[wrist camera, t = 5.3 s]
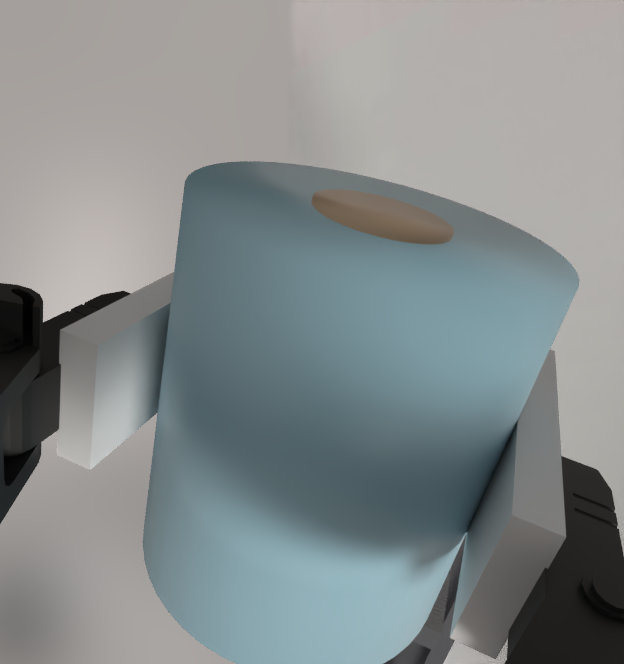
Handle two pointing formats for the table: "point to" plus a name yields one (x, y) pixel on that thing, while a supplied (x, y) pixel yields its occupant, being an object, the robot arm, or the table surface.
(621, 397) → the table surface
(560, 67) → the table surface
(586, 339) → the table surface
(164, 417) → the roll
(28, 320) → the robot arm
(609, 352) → the table surface
